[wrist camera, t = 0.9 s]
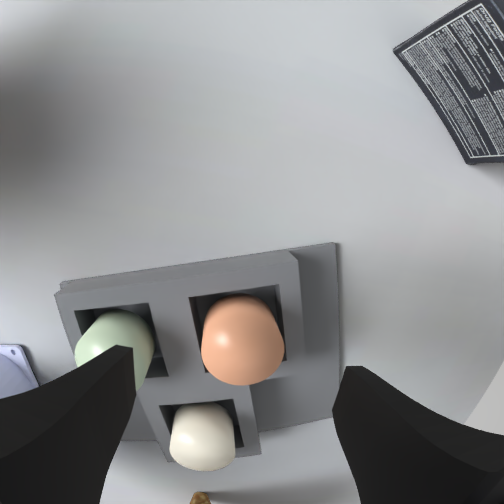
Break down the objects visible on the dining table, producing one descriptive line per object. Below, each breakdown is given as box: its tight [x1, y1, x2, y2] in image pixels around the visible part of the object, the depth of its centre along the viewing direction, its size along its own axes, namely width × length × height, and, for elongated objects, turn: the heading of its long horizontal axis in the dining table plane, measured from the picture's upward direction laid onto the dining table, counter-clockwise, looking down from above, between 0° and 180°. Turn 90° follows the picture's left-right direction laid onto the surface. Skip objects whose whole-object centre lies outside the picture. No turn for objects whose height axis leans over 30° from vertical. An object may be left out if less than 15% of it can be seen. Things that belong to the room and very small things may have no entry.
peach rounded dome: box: [201, 293, 284, 385], centre depth 16 cm, size 4×4×3 cm
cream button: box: [169, 401, 235, 471], centre depth 17 cm, size 4×4×3 cm
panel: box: [54, 242, 339, 462], centre depth 19 cm, size 18×14×3 cm
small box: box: [393, 0, 504, 165], centre depth 13 cm, size 11×6×10 cm, turn 41°
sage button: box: [75, 309, 156, 391], centre depth 15 cm, size 4×4×3 cm
